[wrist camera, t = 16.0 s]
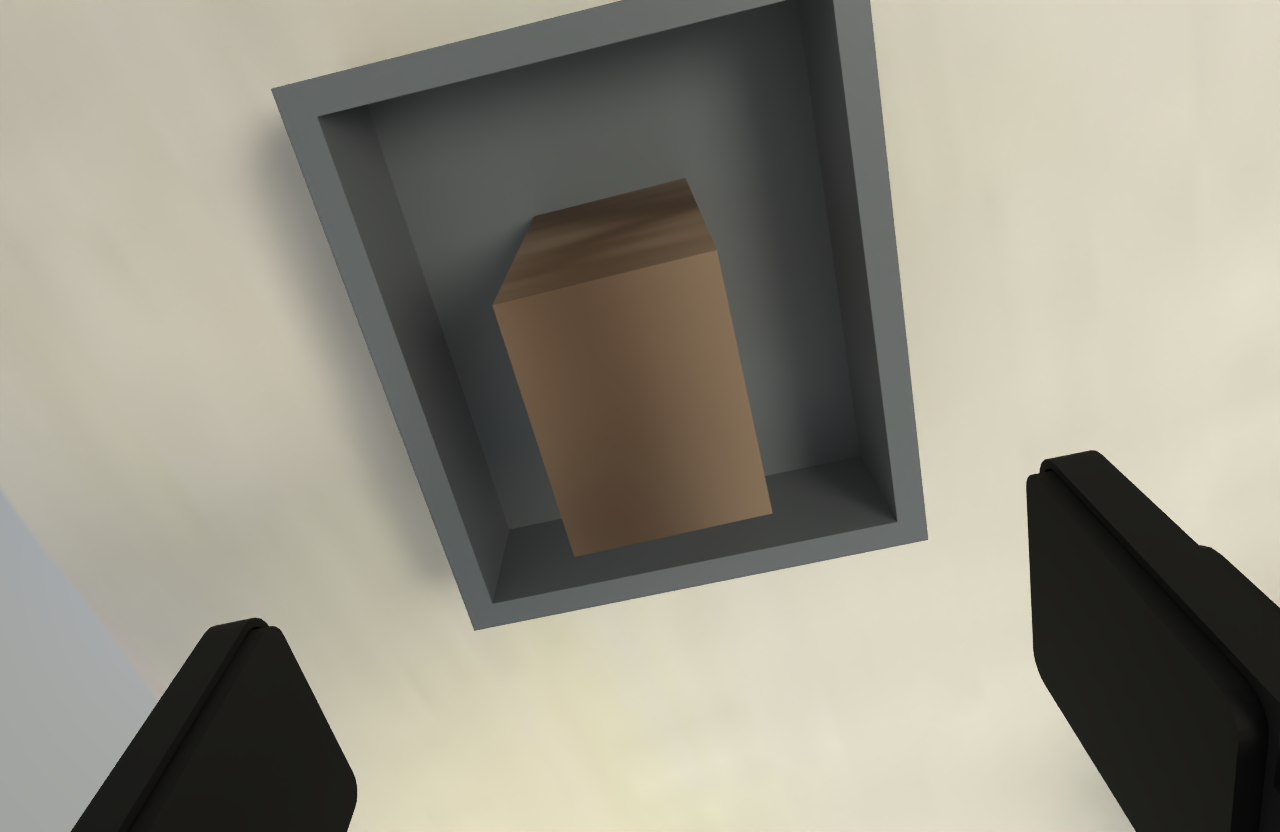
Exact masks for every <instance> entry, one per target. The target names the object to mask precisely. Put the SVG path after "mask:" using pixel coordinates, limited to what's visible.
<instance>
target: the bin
mask: <svg viewBox="0 0 1280 832" xmlns="http://www.w3.org/2000/svg"><path fill="white" fill-rule="evenodd" d="M271 91H272V93H273V96H274V99H275V101H276V104H277V106H278V109H279V112H280V114H281V117H282V120H283V122H284V125H285V128H286V130H287V133H288V136H289V138H290V141H291V144H292V146H293V149H294V152H295V154H296V157H297V160H298V162H299V165H300V168H301V170H302V173H303V176H304V178H305V181H306V184H307V186H308V189H309V192H310V194H311V197H312V200H313V202H314V205H315V208H316V210H317V213H318V216H319V218H320V221H321V224H322V226H323V229H324V232H325V234H326V237H327V240H328V242H329V245H330V248H331V250H332V253H333V256H334V258H335V261H336V263H337V266H338V269H339V271H340V274H341V277H342V279H343V282H344V285H345V287H346V290H347V293H348V295H349V298H350V301H351V303H352V306H353V309H354V311H355V314H356V317H357V319H358V322H359V325H360V327H361V330H362V333H363V335H364V338H365V341H366V343H367V346H368V349H369V351H370V354H371V357H372V359H373V362H374V365H375V367H376V370H377V373H378V375H379V378H380V381H381V383H382V386H383V389H384V391H385V394H386V397H387V399H388V402H389V405H390V407H391V410H392V413H393V415H394V418H395V421H396V423H397V426H398V428H399V431H400V434H401V436H402V439H403V442H404V444H405V447H406V450H407V452H408V455H409V458H410V460H411V463H412V466H413V468H414V471H415V474H416V476H417V479H418V482H419V484H420V487H421V490H422V492H423V495H424V498H425V500H426V503H427V506H428V508H429V511H430V514H431V516H432V519H433V522H434V524H435V527H436V530H437V532H438V535H439V538H440V540H441V543H442V546H443V548H444V551H445V554H446V556H447V559H448V562H449V564H450V567H451V570H452V572H453V575H454V578H455V580H456V583H457V585H458V588H459V591H460V593H461V596H462V599H463V601H464V604H465V607H466V609H467V612H468V615H469V617H470V620H471V623H472V625H473V628H474V631H475V630H480V629H485V628H490V627H495V626H500V625H505V624H510V623H515V622H520V621H525V620H530V619H535V618H540V617H545V616H550V615H555V614H560V613H565V612H570V611H575V610H580V609H585V608H590V607H595V606H600V605H605V604H610V603H615V602H620V601H625V600H630V599H635V598H640V597H645V596H650V595H655V594H660V593H665V592H670V591H675V590H680V589H685V588H690V587H695V586H700V585H705V584H710V583H715V582H720V581H725V580H730V579H735V578H740V577H745V576H750V575H755V574H760V573H765V572H770V571H775V570H780V569H785V568H790V567H795V566H800V565H805V564H810V563H815V562H820V561H825V560H830V559H835V558H839V557H844V556H849V555H854V554H859V553H864V552H869V551H874V550H879V549H884V548H889V547H894V546H899V545H904V544H909V543H914V542H919V541H924V540H928V533H927V524H926V515H925V506H924V496H923V487H922V478H921V469H920V459H919V450H918V441H917V431H916V422H915V413H914V404H913V394H912V385H911V376H910V367H909V357H908V348H907V339H906V330H905V320H904V311H903V302H902V293H901V283H900V274H899V265H898V256H897V246H896V237H895V228H894V218H893V209H892V200H891V191H890V181H889V172H888V163H887V154H886V144H885V135H884V126H883V117H882V107H881V98H880V89H879V80H878V70H877V61H876V52H875V43H874V33H873V24H872V15H871V5H870V0H622V1H618V2H614V3H610V4H606V5H602V6H598V7H594V8H590V9H586V10H582V11H578V12H574V13H570V14H566V15H562V16H558V17H554V18H551V19H547V20H543V21H539V22H535V23H531V24H527V25H523V26H519V27H515V28H511V29H507V30H503V31H499V32H495V33H491V34H487V35H483V36H479V37H475V38H471V39H467V40H463V41H459V42H455V43H451V44H447V45H443V46H439V47H435V48H431V49H427V50H423V51H420V52H416V53H412V54H408V55H404V56H400V57H396V58H392V59H388V60H384V61H380V62H376V63H372V64H368V65H364V66H360V67H356V68H352V69H348V70H344V71H340V72H336V73H332V74H328V75H324V76H320V77H316V78H312V79H308V80H304V81H300V82H296V83H292V84H288V85H285V86H281V87H277V88H273V89H271ZM683 178H686V180H687V182H688V185H689V187H690V189H691V192H692V194H693V196H694V198H695V201H696V203H697V205H698V208H699V210H700V212H701V215H702V217H703V219H704V221H705V224H706V226H707V228H708V231H709V233H710V235H711V237H712V240H713V242H714V244H715V247H716V249H717V253H718V257H719V262H720V267H721V272H722V276H723V281H724V286H725V290H726V295H727V300H728V305H729V309H730V314H731V319H732V324H733V328H734V333H735V338H736V343H737V347H738V352H739V357H740V361H741V366H742V371H743V376H744V380H745V385H746V390H747V395H748V399H749V404H750V409H751V413H752V418H753V423H754V428H755V432H756V437H757V442H758V447H759V451H760V456H761V461H762V465H763V470H764V475H765V480H766V484H767V489H768V494H769V499H770V503H771V508H772V514H767V515H763V516H758V517H754V518H749V519H745V520H740V521H736V522H731V523H727V524H722V525H718V526H713V527H708V528H704V529H699V530H695V531H690V532H686V533H681V534H677V535H672V536H668V537H663V538H659V539H654V540H650V541H645V542H640V543H636V544H631V545H627V546H622V547H618V548H613V549H609V550H604V551H600V552H595V553H591V554H586V555H582V556H577V557H574V554H573V551H572V548H571V545H570V542H569V539H568V536H567V533H566V529H565V526H564V523H563V520H562V517H561V514H560V511H559V508H558V505H557V502H556V499H555V496H554V493H553V490H552V487H551V484H550V480H549V477H548V474H547V471H546V468H545V465H544V462H543V459H542V456H541V453H540V450H539V447H538V444H537V441H536V438H535V435H534V431H533V428H532V425H531V422H530V419H529V416H528V413H527V410H526V407H525V404H524V401H523V398H522V395H521V392H520V389H519V386H518V382H517V379H516V376H515V373H514V370H513V367H512V364H511V361H510V358H509V355H508V352H507V349H506V346H505V343H504V340H503V336H502V333H501V330H500V327H499V324H498V321H497V318H496V315H495V312H494V309H493V306H492V305H493V303H494V301H495V299H496V296H497V294H498V292H499V290H500V288H501V286H502V284H503V282H504V280H505V277H506V275H507V273H508V271H509V269H510V267H511V265H512V263H513V260H514V258H515V256H516V254H517V252H518V250H519V248H520V246H521V244H522V241H523V239H524V237H525V235H526V233H527V231H528V229H529V227H530V225H531V222H532V220H533V218H534V216H537V215H541V214H545V213H549V212H553V211H557V210H561V209H565V208H569V207H573V206H576V205H580V204H584V203H588V202H592V201H596V200H600V199H604V198H608V197H612V196H616V195H620V194H624V193H628V192H632V191H636V190H639V189H643V188H647V187H651V186H655V185H659V184H663V183H667V182H671V181H675V180H679V179H683Z"/></svg>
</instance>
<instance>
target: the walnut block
mask: <svg viewBox="0 0 1280 832" xmlns="http://www.w3.org/2000/svg"><path fill="white" fill-rule="evenodd" d="M492 306H493V309H494V312H495V315H496V318H497V321H498V324H499V327H500V330H501V333H502V336H503V340H504V343H505V346H506V349H507V352H508V355H509V358H510V361H511V364H512V367H513V370H514V373H515V376H516V379H517V382H518V386H519V389H520V392H521V395H522V398H523V401H524V404H525V407H526V410H527V413H528V416H529V419H530V422H531V425H532V428H533V431H534V435H535V438H536V441H537V444H538V447H539V450H540V453H541V456H542V459H543V462H544V465H545V468H546V471H547V474H548V477H549V480H550V484H551V487H552V490H553V493H554V496H555V499H556V502H557V505H558V508H559V511H560V514H561V517H562V520H563V523H564V526H565V529H566V533H567V536H568V539H569V542H570V545H571V548H572V551H573V554H574V557H577V556H582V555H586V554H591V553H595V552H600V551H604V550H609V549H613V548H618V547H622V546H627V545H631V544H636V543H640V542H645V541H650V540H654V539H659V538H663V537H668V536H672V535H677V534H681V533H686V532H690V531H695V530H699V529H704V528H708V527H713V526H718V525H722V524H727V523H731V522H736V521H740V520H745V519H749V518H754V517H758V516H763V515H767V514H772V508H771V503H770V499H769V494H768V489H767V484H766V480H765V475H764V470H763V465H762V461H761V456H760V451H759V447H758V442H757V437H756V432H755V428H754V423H753V418H752V413H751V409H750V404H749V399H748V395H747V390H746V385H745V380H744V376H743V371H742V366H741V361H740V357H739V352H738V347H737V343H736V338H735V333H734V328H733V324H732V319H731V314H730V309H729V305H728V300H727V295H726V290H725V286H724V281H723V276H722V272H721V267H720V262H719V257H718V253H717V249H716V247H715V244H714V242H713V240H712V237H711V235H710V233H709V231H708V228H707V226H706V224H705V221H704V219H703V217H702V215H701V212H700V210H699V208H698V205H697V203H696V201H695V198H694V196H693V194H692V192H691V189H690V187H689V185H688V182H687V180H686V178H683V179H679V180H675V181H671V182H667V183H663V184H659V185H655V186H651V187H647V188H643V189H639V190H636V191H632V192H628V193H624V194H620V195H616V196H612V197H608V198H604V199H600V200H596V201H592V202H588V203H584V204H580V205H576V206H573V207H569V208H565V209H561V210H557V211H553V212H549V213H545V214H541V215H537V216H534V218H533V220H532V222H531V225H530V227H529V229H528V231H527V233H526V235H525V237H524V239H523V241H522V244H521V246H520V248H519V250H518V252H517V254H516V256H515V258H514V260H513V263H512V265H511V267H510V269H509V271H508V273H507V275H506V277H505V280H504V282H503V284H502V286H501V288H500V290H499V292H498V294H497V296H496V299H495V301H494V303H493V305H492Z"/></svg>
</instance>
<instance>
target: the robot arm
mask: <svg viewBox="0 0 1280 832" xmlns="http://www.w3.org/2000/svg"><path fill="white" fill-rule="evenodd" d="M1026 492H1027V515H1028V538H1029V561H1030V584H1031V607H1032V630H1033V651H1034V657H1035V662H1036V665H1037V668H1038V671H1039V674H1040V676H1041V678H1042V680H1043V682H1044V684H1045V686H1046V687H1047V689H1048V690H1049V692H1050V694H1051V695H1052V697H1053V698H1054V700H1055V702H1056V703H1057V705H1058V707H1059V708H1060V710H1061V711H1062V713H1063V715H1064V716H1065V718H1066V719H1067V721H1068V723H1069V724H1070V726H1071V727H1072V729H1073V731H1074V732H1075V734H1076V736H1077V737H1078V739H1079V740H1080V742H1081V744H1082V745H1083V747H1084V748H1085V750H1086V752H1087V753H1088V755H1089V756H1090V758H1091V760H1092V761H1093V763H1094V765H1095V766H1096V768H1097V769H1098V771H1099V773H1100V774H1101V776H1102V777H1103V779H1104V781H1105V782H1106V784H1107V785H1108V787H1109V789H1110V790H1111V792H1112V794H1113V795H1114V797H1115V798H1116V800H1117V802H1118V803H1119V805H1120V806H1121V808H1122V810H1123V811H1124V813H1125V815H1126V816H1127V818H1128V819H1129V821H1130V823H1131V824H1132V826H1133V827H1134V829H1135V831H1136V832H1280V608H1279V607H1278V606H1277V605H1276V604H1275V603H1274V602H1273V601H1271V600H1270V599H1269V598H1268V597H1267V596H1266V595H1265V594H1264V593H1263V592H1262V591H1261V590H1259V589H1258V588H1257V587H1256V586H1255V585H1254V584H1253V583H1252V582H1251V581H1250V580H1249V579H1247V578H1246V577H1245V576H1244V575H1243V574H1242V573H1241V572H1240V571H1239V570H1238V569H1237V568H1235V567H1234V566H1233V565H1232V564H1231V563H1230V562H1229V561H1228V560H1227V559H1226V558H1225V557H1223V556H1222V555H1221V554H1220V553H1218V552H1217V551H1215V550H1214V549H1212V548H1211V547H1206V546H1202V545H1198V544H1197V543H1196V542H1195V541H1194V540H1193V539H1192V538H1190V537H1189V536H1188V535H1187V534H1186V533H1185V532H1184V531H1183V530H1182V529H1181V528H1180V527H1179V526H1178V525H1177V524H1175V523H1174V522H1173V521H1172V520H1171V519H1170V518H1169V517H1168V516H1167V515H1166V514H1165V513H1164V512H1163V511H1162V510H1161V509H1159V508H1158V507H1157V506H1156V505H1155V504H1154V503H1153V502H1152V501H1151V500H1150V499H1149V498H1148V497H1147V496H1146V495H1144V494H1143V493H1142V492H1141V491H1140V490H1139V489H1138V488H1137V487H1136V486H1135V485H1134V484H1133V483H1132V482H1131V481H1130V480H1128V479H1127V478H1126V477H1125V476H1124V475H1123V474H1122V473H1121V472H1120V471H1119V470H1118V469H1117V468H1116V467H1115V466H1114V465H1112V464H1111V463H1110V462H1109V461H1108V460H1107V459H1106V458H1105V457H1104V456H1103V455H1102V454H1100V453H1099V452H1097V451H1094V450H1090V451H1085V452H1080V453H1075V454H1070V455H1065V456H1060V457H1055V458H1050V459H1045V460H1044V461H1043V462H1042V463H1041V467H1040V473H1038V474H1033V475H1030V476H1029V477H1028V479H1027V483H1026ZM356 802H357V784H356V779H355V776H354V774H353V772H352V770H351V768H350V766H349V764H348V762H347V760H346V758H345V756H344V754H343V752H342V750H341V748H340V746H339V744H338V742H337V740H336V738H335V736H334V734H333V732H332V730H331V728H330V726H329V724H328V722H327V720H326V718H325V716H324V714H323V712H322V710H321V708H320V706H319V704H318V702H317V700H316V698H315V696H314V694H313V692H312V690H311V688H310V686H309V684H308V682H307V680H306V678H305V676H304V674H303V672H302V670H301V668H300V666H299V664H298V662H297V660H296V658H295V656H294V655H293V653H292V651H291V649H290V647H289V645H288V643H287V641H286V639H285V637H284V635H283V633H282V632H281V630H280V629H278V628H277V627H275V626H268V624H267V623H266V622H265V621H263V620H262V619H260V618H251V619H246V620H241V621H236V622H231V623H226V624H221V625H216V626H213V627H211V628H209V629H208V630H207V631H206V632H205V633H204V635H203V636H202V638H201V639H200V641H199V642H198V644H197V645H196V647H195V648H194V650H193V651H192V653H191V654H190V656H189V657H188V659H187V660H186V662H185V663H184V665H183V666H182V668H181V669H180V671H179V672H178V673H177V675H176V676H175V678H174V679H173V681H172V682H171V684H170V685H169V687H168V688H167V690H166V691H165V693H164V694H163V696H162V697H161V699H160V700H159V702H158V703H157V705H156V706H155V708H154V709H153V711H152V712H151V713H150V715H149V716H148V718H147V720H146V721H145V722H144V724H143V725H142V727H141V728H140V730H139V731H138V733H137V734H136V736H135V737H134V739H133V740H132V742H131V743H130V745H129V746H128V748H127V749H126V751H125V752H124V754H123V755H122V756H121V758H120V759H119V761H118V762H117V764H116V765H115V767H114V768H113V770H112V771H111V773H110V774H109V776H108V777H107V779H106V780H105V782H104V783H103V785H102V786H101V788H100V789H99V791H98V792H97V794H96V795H95V797H94V798H93V799H92V801H91V803H90V804H89V805H88V807H87V808H86V810H85V811H84V813H83V814H82V816H81V817H80V819H79V820H78V822H77V823H76V825H75V826H74V828H73V829H72V831H71V832H347V830H348V827H349V824H350V821H351V818H352V815H353V812H354V809H355V806H356Z"/></svg>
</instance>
